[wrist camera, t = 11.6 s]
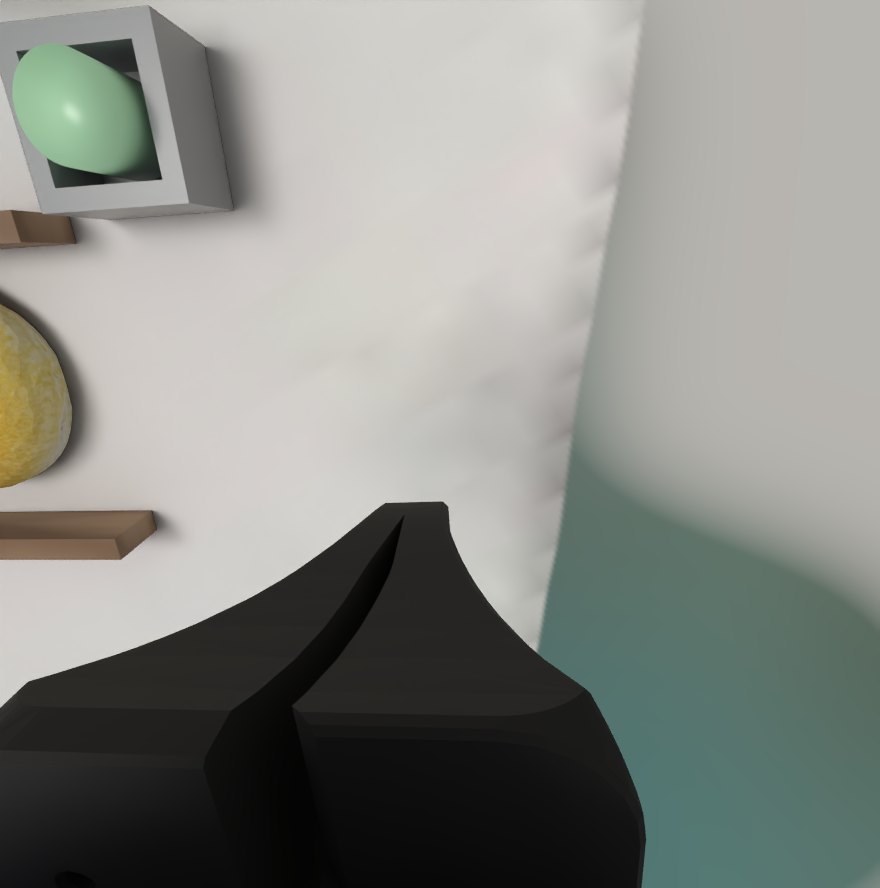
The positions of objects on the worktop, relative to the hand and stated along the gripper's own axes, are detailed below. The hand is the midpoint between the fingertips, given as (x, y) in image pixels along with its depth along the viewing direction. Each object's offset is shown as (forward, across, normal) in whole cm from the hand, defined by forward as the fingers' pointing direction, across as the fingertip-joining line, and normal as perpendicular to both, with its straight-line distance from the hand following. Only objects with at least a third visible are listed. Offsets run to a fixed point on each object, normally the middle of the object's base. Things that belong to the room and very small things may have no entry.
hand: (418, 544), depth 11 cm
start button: (+10, +10, -10) cm, 17 cm away
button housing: (+10, +10, -10) cm, 18 cm away
